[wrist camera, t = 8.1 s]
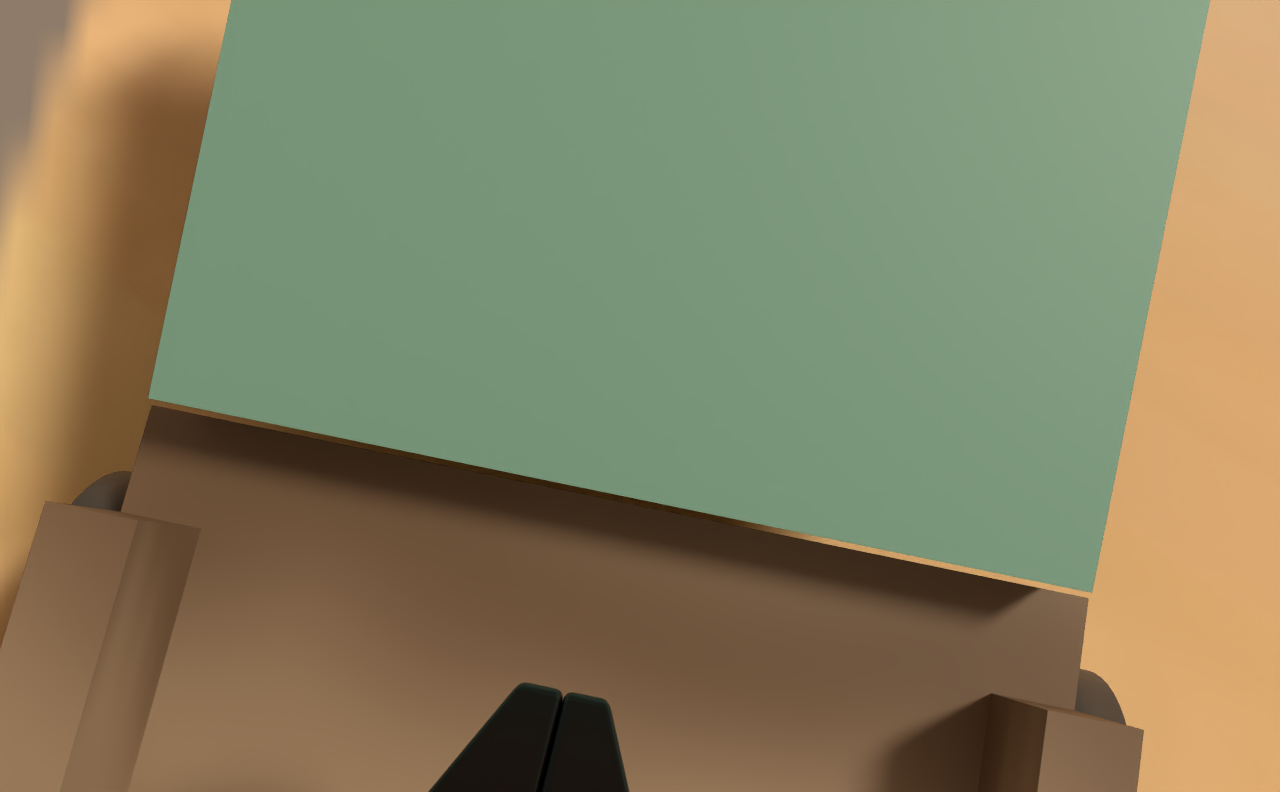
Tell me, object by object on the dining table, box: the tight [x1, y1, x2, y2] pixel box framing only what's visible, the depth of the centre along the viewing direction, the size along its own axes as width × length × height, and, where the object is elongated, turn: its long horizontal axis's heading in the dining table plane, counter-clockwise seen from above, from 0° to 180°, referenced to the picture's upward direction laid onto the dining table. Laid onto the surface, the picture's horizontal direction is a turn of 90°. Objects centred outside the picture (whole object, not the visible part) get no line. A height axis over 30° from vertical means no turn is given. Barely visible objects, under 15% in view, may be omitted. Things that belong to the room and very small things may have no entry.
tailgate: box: [148, 0, 1210, 593], centre depth 15 cm, size 2×13×14 cm
